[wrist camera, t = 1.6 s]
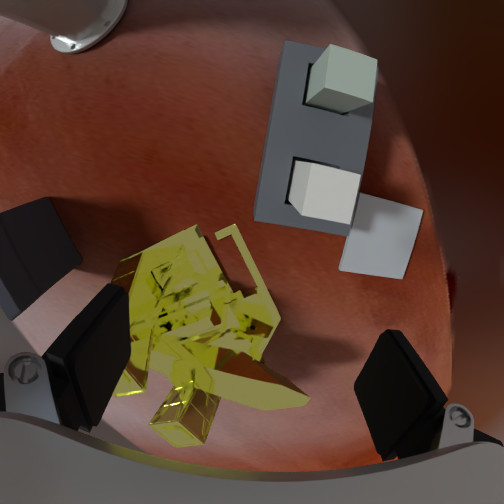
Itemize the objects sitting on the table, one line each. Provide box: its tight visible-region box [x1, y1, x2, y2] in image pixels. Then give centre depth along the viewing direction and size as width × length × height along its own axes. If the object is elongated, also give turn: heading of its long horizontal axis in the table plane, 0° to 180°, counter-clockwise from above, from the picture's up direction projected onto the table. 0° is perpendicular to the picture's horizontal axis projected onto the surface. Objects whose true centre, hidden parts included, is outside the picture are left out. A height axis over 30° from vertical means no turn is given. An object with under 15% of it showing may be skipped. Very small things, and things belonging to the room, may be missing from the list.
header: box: [253, 40, 378, 237], centre depth 27 cm, size 19×10×5 cm, turn 171°
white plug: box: [286, 160, 361, 224], centre depth 25 cm, size 4×4×10 cm
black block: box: [0, 197, 82, 321], centre depth 25 cm, size 11×4×15 cm, turn 27°
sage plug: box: [302, 44, 377, 114], centre depth 21 cm, size 4×4×10 cm
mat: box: [339, 193, 423, 279], centre depth 33 cm, size 10×10×1 cm
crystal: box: [111, 224, 311, 447], centre depth 29 cm, size 18×25×16 cm
